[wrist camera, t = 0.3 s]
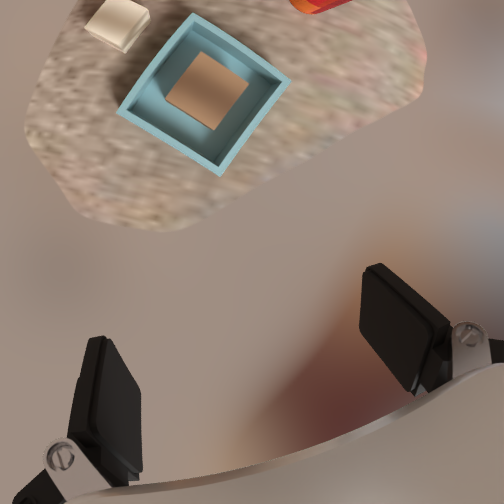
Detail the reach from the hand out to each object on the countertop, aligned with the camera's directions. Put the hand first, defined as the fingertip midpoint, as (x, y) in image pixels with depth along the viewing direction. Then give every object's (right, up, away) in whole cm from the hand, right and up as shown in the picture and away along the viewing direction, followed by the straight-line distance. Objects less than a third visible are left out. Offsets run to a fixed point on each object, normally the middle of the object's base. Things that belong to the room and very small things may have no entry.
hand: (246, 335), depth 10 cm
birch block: (-15, +29, +16) cm, 37 cm away
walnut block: (-6, +21, +22) cm, 31 cm away
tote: (-6, +21, +22) cm, 31 cm away
